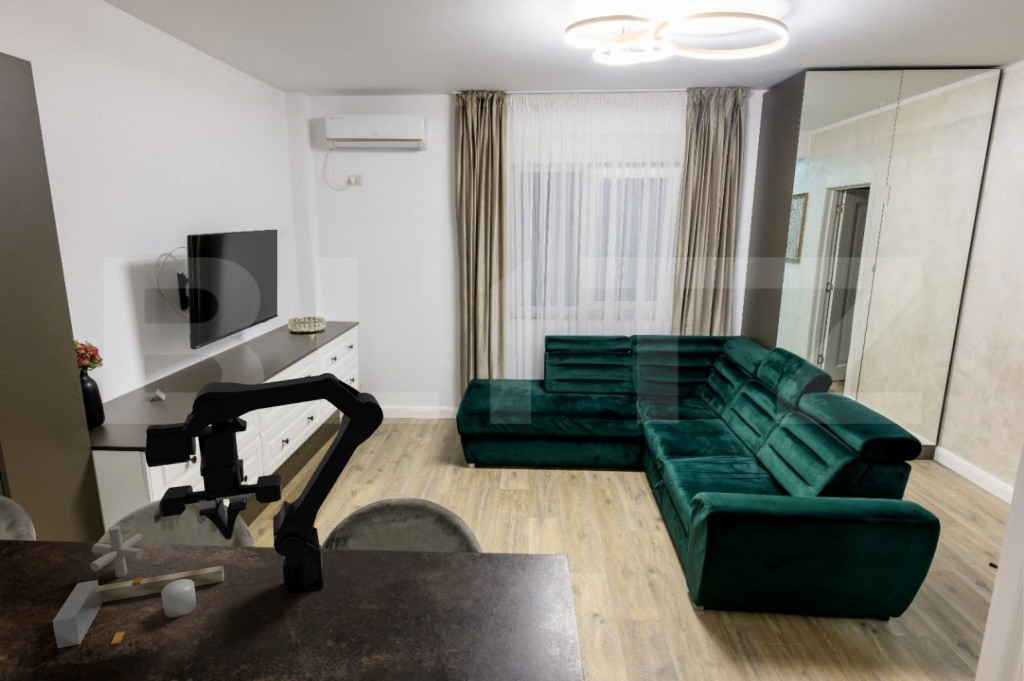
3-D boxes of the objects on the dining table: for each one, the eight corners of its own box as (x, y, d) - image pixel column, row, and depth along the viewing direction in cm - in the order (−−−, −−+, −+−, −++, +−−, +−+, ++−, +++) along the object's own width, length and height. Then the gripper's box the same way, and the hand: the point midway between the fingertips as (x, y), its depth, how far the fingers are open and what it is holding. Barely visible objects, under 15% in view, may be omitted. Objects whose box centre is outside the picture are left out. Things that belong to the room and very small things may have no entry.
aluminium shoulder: (102, 604, 102) (97, 580, 101) (79, 644, 92) (74, 617, 91) (82, 608, 101) (77, 583, 100) (57, 648, 92) (52, 621, 90)
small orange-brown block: (124, 633, 95) (124, 631, 95) (119, 643, 93) (119, 641, 93) (116, 634, 95) (115, 633, 95) (111, 644, 92) (110, 643, 92)
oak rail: (224, 576, 110) (222, 563, 109) (222, 581, 108) (221, 568, 108) (90, 599, 103) (88, 585, 103) (87, 605, 102) (84, 591, 101)
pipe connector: (121, 594, 105) (113, 545, 102) (76, 587, 106) (67, 539, 104) (164, 562, 114) (157, 517, 112) (122, 556, 116) (114, 511, 114)
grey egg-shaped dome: (199, 596, 104) (196, 576, 103) (193, 614, 100) (190, 594, 99) (168, 601, 103) (165, 582, 102) (160, 620, 98) (157, 599, 97)
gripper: (281, 433, 108) (287, 508, 112) (169, 445, 102) (180, 523, 106) (276, 457, 98) (284, 538, 101) (152, 471, 92) (165, 557, 96)
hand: (229, 538), depth 101 cm, fingers closed
